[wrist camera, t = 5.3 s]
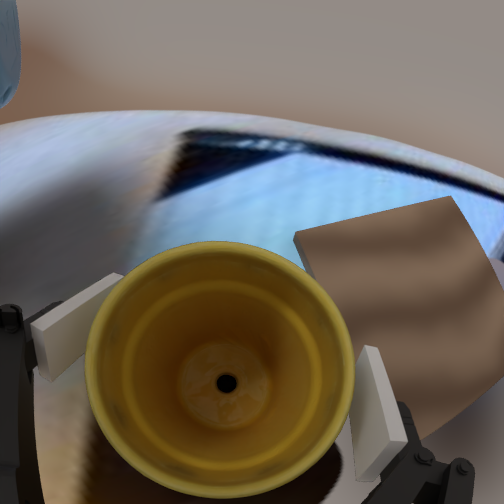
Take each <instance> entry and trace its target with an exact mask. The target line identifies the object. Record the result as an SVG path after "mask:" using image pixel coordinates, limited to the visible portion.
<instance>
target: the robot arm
mask: <svg viewBox="0 0 504 504" xmlns="http://www.w3.org/2000/svg"><path fill="white" fill-rule="evenodd" d="M20 72H21V41H20V29H19V20H18V12H17V5H16V0H0V108H2V107H3V106H5V105H6V104H7V103H8V102H9V101H10V100H11V99H12V97H13V96H14V94H15V92H16V90H17V87H18V84H19V80H20ZM124 277H125V276H122V275H119V274H116V273H114V272H113V273H111V274H110V275H108V276H106V277H105V278H103V279H101V280H100V281H98V282H96V283H95V284H93V285H91V286H90V287H88V288H86V289H85V290H83V291H81V292H80V293H78V294H76V295H75V296H73V297H72V298H70V299H68V300H67V301H65V302H63V301H59V302H55V303H52V304H50V305H49V306H47V307H46V308H45V309H42V310H41V311H40V312H37V313H36V314H34V315H33V316H31V317H29V318H28V319H26V320H25V321H23V315H22V309H21V308H20V307H19V306H17V305H14V304H5V305H2V306H0V504H45V502H44V498H43V492H42V487H41V481H40V474H39V467H38V459H37V450H36V439H35V425H34V373H33V368H34V367H36V366H37V365H38V369H39V374H40V375H41V376H42V377H44V378H45V379H47V380H49V381H50V382H53V381H54V380H55V379H56V378H57V377H58V376H59V375H60V374H62V373H63V372H64V371H65V370H66V369H67V368H68V367H69V366H70V365H71V364H73V363H74V362H75V361H76V360H77V359H78V358H79V357H80V356H81V355H82V354H84V353H85V352H86V345H87V340H88V336H89V332H90V329H91V326H92V324H93V321H94V319H95V317H96V314H97V312H98V310H99V308H100V306H101V305H102V303H103V302H104V300H105V299H106V297H107V296H108V295H109V293H110V292H111V291H112V289H113V288H114V287H115V286H116V285H117V284H118V283H119V282H120V281H121V280H122V279H123V278H124ZM349 417H350V424H351V433H352V442H353V453H354V463H355V474H356V481H362V482H373V481H374V480H375V479H376V478H377V477H378V476H379V475H380V477H381V482H380V483H379V485H377V486H376V487H375V488H374V489H373V490H372V491H371V492H370V493H369V495H368V497H367V498H366V499H365V500H364V501H363V502H362V503H361V504H411V503H414V504H472V497H473V488H474V478H475V470H474V467H473V465H472V464H471V463H470V462H469V461H468V460H466V459H464V458H456V459H454V460H453V461H452V462H451V463H450V464H445V463H441V462H438V461H436V460H435V457H434V455H433V453H432V452H430V450H428V449H427V448H424V447H422V445H421V442H420V439H419V436H418V433H417V429H416V426H414V424H415V423H414V421H413V419H412V415H411V412H410V409H409V408H408V407H407V406H406V404H405V403H404V402H401V401H396V400H395V397H394V394H393V391H392V388H391V385H390V382H389V379H388V376H387V373H386V370H385V367H384V364H383V361H382V359H381V356H380V353H379V350H378V348H377V347H372V346H368V345H364V347H363V349H362V352H361V354H360V356H359V358H358V360H357V362H356V364H355V386H354V394H353V398H352V403H351V406H350V410H349Z"/></svg>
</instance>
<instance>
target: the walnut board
mask: <svg viewBox="0 0 504 504" xmlns="http://www.w3.org/2000/svg"><path fill="white" fill-rule="evenodd" d="M293 241H294V244H295V246H296V248H297V251H298V253H299V255H300V258H301V260H302V263H303V265H304V267H305V270H306V272H307V273H308V274H309V275H310V276H311V277H312V278H313V279H315V280H316V281H317V282H318V283H319V284H320V285H321V286H322V287H323V288H324V290H325V291H326V292H327V293H328V295H329V296H330V297H331V299H332V300H333V301H334V303H335V304H336V306H337V307H338V309H339V311H340V313H341V315H342V317H343V319H344V321H345V324H346V326H347V329H348V332H349V335H350V338H351V342H352V346H353V351H354V357H355V364H356V362H357V360H358V358H359V356H360V354H361V352H362V349H363V347H364V345H368V346H372V347H377V348H378V350H379V353H380V356H381V359H382V361H383V364H384V367H385V370H386V373H387V376H388V379H389V382H390V385H391V388H392V391H393V394H394V397H395V400H396V401H401V402H404V403H405V404H406V406H407V407H408V408H409V409H410V412H411V415H412V419H413V421H414V423H415V424H414V426H416V429H417V433H418V436H419V439H420V441H421V440H422V439H424V438H425V437H426V436H428V435H430V434H431V433H433V432H434V431H436V430H437V429H439V428H440V427H441V426H443V425H444V424H445V423H447V422H448V421H450V420H451V419H452V418H454V417H455V416H457V415H458V414H459V413H460V412H462V411H463V410H464V409H466V408H467V407H468V406H469V405H471V404H472V403H473V402H474V401H476V400H477V399H478V398H479V397H480V396H482V395H483V394H484V393H485V392H486V391H488V390H489V389H490V388H491V387H492V386H493V385H494V384H495V383H496V382H498V380H500V379H501V378H502V377H503V376H504V291H503V289H502V286H501V284H500V282H499V280H498V278H497V276H496V274H495V271H494V269H493V267H492V265H491V263H490V261H489V259H488V258H487V256H486V254H485V252H484V250H483V248H482V246H481V244H480V243H479V241H478V239H477V237H476V236H475V234H474V232H473V230H472V229H471V227H470V225H469V224H468V222H467V220H466V219H465V217H464V215H463V214H462V212H461V211H460V209H459V207H458V206H457V204H456V203H455V201H454V200H453V198H452V197H451V196H446V197H442V198H438V199H433V200H429V201H425V202H420V203H416V204H412V205H407V206H403V207H399V208H394V209H390V210H386V211H381V212H377V213H373V214H369V215H364V216H360V217H356V218H352V219H348V220H343V221H339V222H335V223H331V224H326V225H322V226H318V227H314V228H310V229H306V230H301V231H297V232H295V235H294V238H293Z"/></svg>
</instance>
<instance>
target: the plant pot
mask: <svg viewBox="0 0 504 504" xmlns="http://www.w3.org/2000/svg"><path fill="white" fill-rule="evenodd" d="M222 375H231V376H233V377H234V378H235V379H236V382H237V386H236V388H235V390H234V391H232V392H230V393H224V392H222V391H220V390H219V389H218V387H217V379H218V378H219V377H220V376H222ZM85 383H86V388H87V393H88V398H89V402H90V405H91V408H92V411H93V413H94V416H95V418H96V420H97V422H98V424H99V426H100V428H101V430H102V432H103V433H104V435H105V436H106V438H107V440H108V441H109V442H110V444H111V445H112V446H113V447H114V449H115V450H116V451H117V452H118V453H119V454H120V455H121V457H122V458H124V459H125V460H126V461H127V462H128V463H129V464H130V465H131V466H132V467H134V468H135V469H136V470H137V471H139V472H140V473H142V474H143V475H144V476H146V477H148V478H149V479H151V480H153V481H155V482H157V483H158V484H161V485H163V486H165V487H167V488H170V489H172V490H175V491H178V492H181V493H185V494H189V495H194V496H199V497H206V498H239V497H247V496H252V495H257V494H260V493H264V492H267V491H270V490H273V489H275V488H278V487H280V486H282V485H284V484H286V483H288V482H290V481H292V480H294V479H295V478H297V477H298V476H300V475H301V474H303V473H304V472H305V471H307V470H308V469H309V468H310V467H312V466H313V465H314V464H315V463H316V462H317V461H318V460H319V459H320V458H321V457H322V456H323V455H324V454H325V453H326V452H327V451H328V449H329V448H330V447H331V445H332V444H333V443H334V441H335V440H336V438H337V436H338V435H339V433H340V431H341V430H342V427H343V425H344V423H345V421H346V418H347V416H348V413H349V410H350V406H351V403H352V398H353V394H354V386H355V357H354V351H353V346H352V342H351V338H350V335H349V332H348V329H347V326H346V324H345V321H344V319H343V317H342V315H341V313H340V311H339V309H338V307H337V306H336V304H335V303H334V301H333V300H332V299H331V297H330V296H329V295H328V293H327V292H326V291H325V290H324V288H323V287H322V286H321V285H320V284H319V283H318V282H317V281H316V280H315V279H313V278H312V277H311V276H310V275H309V274H308V273H306V272H305V271H304V270H303V269H301V268H300V267H298V266H297V265H296V264H294V263H292V262H291V261H289V260H287V259H285V258H284V257H282V256H280V255H277V254H275V253H273V252H271V251H268V250H265V249H262V248H259V247H256V246H252V245H248V244H243V243H236V242H227V241H207V242H197V243H191V244H186V245H182V246H179V247H175V248H172V249H169V250H167V251H164V252H162V253H159V254H157V255H155V256H153V257H151V258H150V259H148V260H146V261H145V262H143V263H142V264H140V265H139V266H137V267H136V268H134V269H133V270H132V271H130V272H129V273H128V274H127V275H126V276H125V277H124V278H123V279H122V280H121V281H120V282H119V283H118V284H117V285H116V286H115V287H114V288H113V289H112V291H111V292H110V293H109V295H108V296H107V297H106V299H105V300H104V302H103V303H102V305H101V306H100V308H99V310H98V312H97V314H96V317H95V319H94V321H93V324H92V326H91V329H90V332H89V336H88V340H87V345H86V352H85Z"/></svg>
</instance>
